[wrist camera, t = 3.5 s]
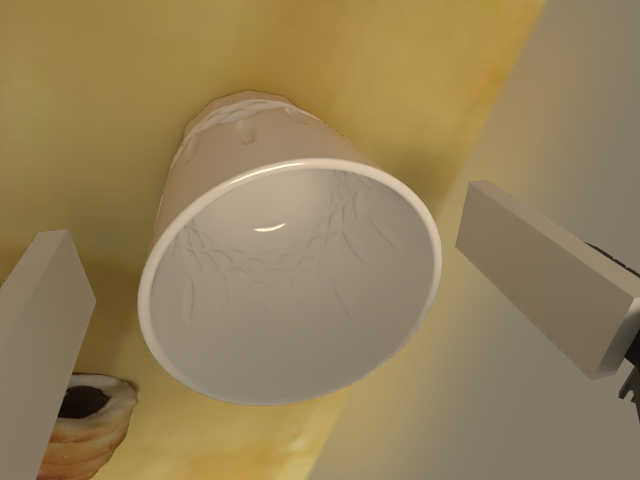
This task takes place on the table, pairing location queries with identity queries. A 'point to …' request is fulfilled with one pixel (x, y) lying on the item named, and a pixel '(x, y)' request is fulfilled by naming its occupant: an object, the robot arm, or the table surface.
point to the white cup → (281, 257)
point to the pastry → (87, 427)
